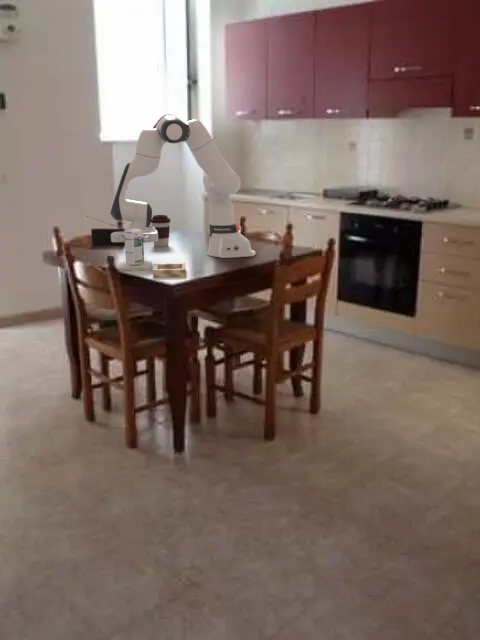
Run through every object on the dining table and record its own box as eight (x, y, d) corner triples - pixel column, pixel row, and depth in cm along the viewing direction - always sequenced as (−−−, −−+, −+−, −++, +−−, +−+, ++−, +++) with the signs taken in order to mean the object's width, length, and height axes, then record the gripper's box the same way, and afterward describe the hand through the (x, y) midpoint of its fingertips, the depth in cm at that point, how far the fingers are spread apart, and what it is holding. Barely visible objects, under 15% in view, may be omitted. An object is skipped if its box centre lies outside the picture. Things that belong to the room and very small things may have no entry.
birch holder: (185, 270, 306) (185, 263, 305) (185, 276, 294) (185, 269, 293) (154, 270, 305) (154, 263, 304) (153, 277, 293) (153, 270, 292)
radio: (126, 245, 366) (124, 215, 362) (124, 246, 363) (123, 216, 359) (90, 245, 367) (88, 215, 363) (88, 246, 365) (86, 216, 360)
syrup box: (134, 265, 308) (133, 231, 304) (125, 263, 312) (124, 229, 308) (144, 263, 312) (143, 229, 308) (135, 261, 316) (134, 228, 312)
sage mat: (152, 263, 320) (152, 260, 320) (150, 270, 306) (150, 267, 306) (119, 264, 319) (119, 261, 318) (117, 270, 305) (117, 268, 305)
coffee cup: (168, 243, 369) (167, 213, 365) (173, 246, 360) (172, 216, 356) (149, 244, 366) (148, 214, 362) (153, 248, 357) (152, 217, 353)
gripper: (111, 227, 320) (108, 232, 307) (158, 226, 322) (157, 231, 308) (112, 242, 322) (109, 247, 309) (158, 240, 323) (158, 246, 310)
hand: (133, 239), depth 309 cm, fingers closed on syrup box, 8 cm apart
